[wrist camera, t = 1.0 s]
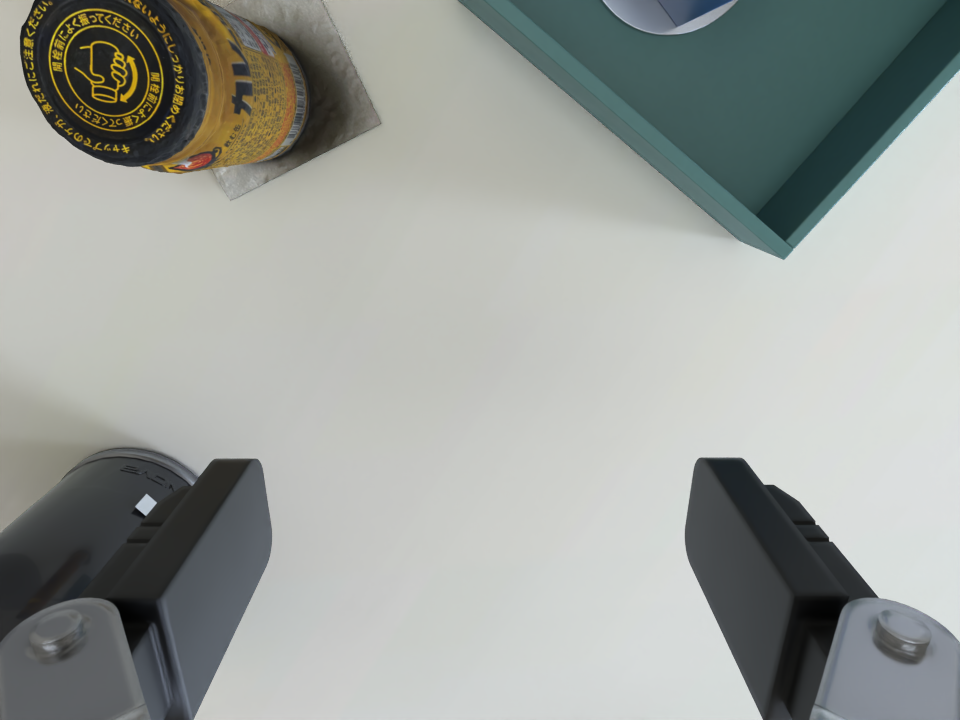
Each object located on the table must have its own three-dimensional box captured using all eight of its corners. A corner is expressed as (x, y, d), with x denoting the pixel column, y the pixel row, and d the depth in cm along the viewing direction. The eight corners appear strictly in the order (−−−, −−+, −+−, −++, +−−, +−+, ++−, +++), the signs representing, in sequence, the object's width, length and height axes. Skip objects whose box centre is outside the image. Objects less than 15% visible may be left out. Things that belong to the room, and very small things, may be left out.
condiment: (144, 53, 28) (-70, 5, 17) (303, -37, 27) (186, -152, 16) (232, 200, 31) (93, 242, 20) (382, 123, 30) (327, 121, 18)
